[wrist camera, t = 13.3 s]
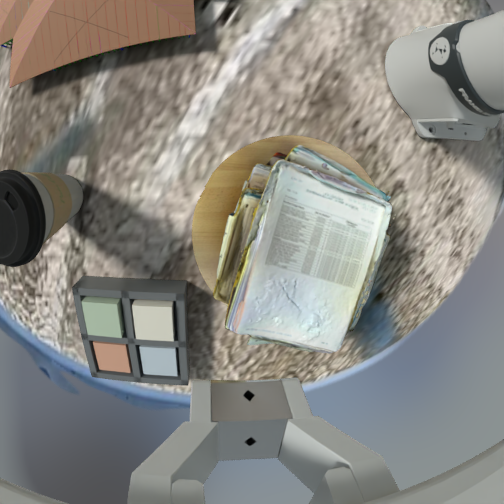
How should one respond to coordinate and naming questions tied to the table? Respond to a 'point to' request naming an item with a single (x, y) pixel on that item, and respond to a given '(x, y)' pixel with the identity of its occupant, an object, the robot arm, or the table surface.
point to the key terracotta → (113, 356)
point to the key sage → (103, 316)
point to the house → (84, 29)
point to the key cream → (154, 319)
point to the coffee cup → (33, 212)
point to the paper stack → (291, 241)
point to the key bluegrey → (159, 360)
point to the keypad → (128, 293)
